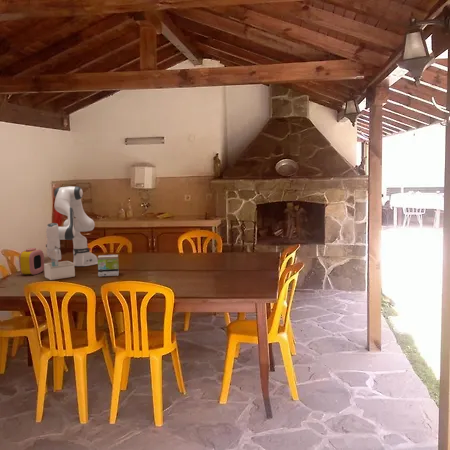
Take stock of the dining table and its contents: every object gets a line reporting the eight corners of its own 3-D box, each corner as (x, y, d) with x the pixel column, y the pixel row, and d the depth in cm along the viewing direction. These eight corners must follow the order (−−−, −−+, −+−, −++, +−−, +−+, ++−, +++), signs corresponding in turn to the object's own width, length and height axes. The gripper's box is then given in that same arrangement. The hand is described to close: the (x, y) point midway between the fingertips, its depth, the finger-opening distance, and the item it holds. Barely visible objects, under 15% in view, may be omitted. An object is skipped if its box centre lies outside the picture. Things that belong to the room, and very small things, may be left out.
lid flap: (73, 275, 369) (72, 259, 367) (74, 275, 367) (73, 259, 365) (50, 278, 359) (49, 262, 357) (51, 279, 357) (50, 262, 355)
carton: (68, 273, 380) (67, 260, 379) (75, 276, 369) (74, 263, 368) (44, 277, 369) (43, 263, 368) (50, 280, 358) (49, 266, 357)
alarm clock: (32, 276, 373) (30, 250, 371) (19, 276, 375) (17, 250, 373) (45, 271, 391) (44, 247, 389) (33, 271, 393) (31, 246, 391)
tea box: (98, 277, 364) (97, 257, 363) (98, 274, 374) (97, 255, 373) (119, 275, 367) (118, 256, 366) (119, 273, 377) (118, 253, 375)
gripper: (62, 246, 351) (64, 266, 352) (53, 243, 367) (54, 262, 368) (53, 247, 347) (55, 267, 348) (44, 244, 363) (46, 263, 365)
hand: (54, 264), depth 358 cm, fingers open, 4 cm apart
